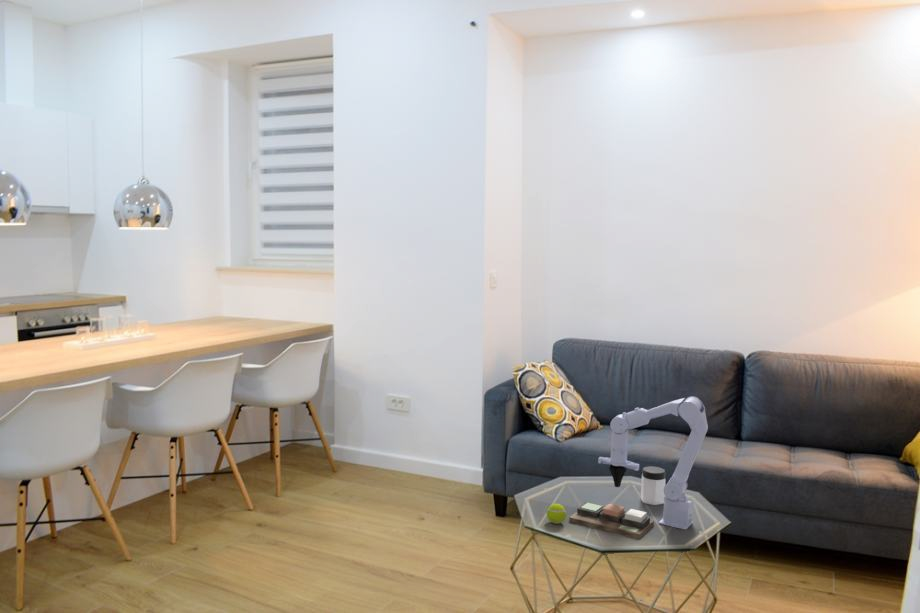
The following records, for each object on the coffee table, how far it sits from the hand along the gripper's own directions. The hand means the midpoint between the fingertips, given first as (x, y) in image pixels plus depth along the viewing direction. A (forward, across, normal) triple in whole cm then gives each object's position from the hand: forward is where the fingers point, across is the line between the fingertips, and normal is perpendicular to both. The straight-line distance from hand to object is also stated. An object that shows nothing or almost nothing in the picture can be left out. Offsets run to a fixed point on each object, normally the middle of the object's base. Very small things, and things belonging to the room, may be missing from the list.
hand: (617, 486), depth 275 cm
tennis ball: (+10, -13, -22) cm, 27 cm away
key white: (+6, +10, -10) cm, 16 cm away
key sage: (+8, -6, -10) cm, 13 cm away
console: (+9, +2, -11) cm, 15 cm away
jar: (+10, +7, +18) cm, 22 cm away
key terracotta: (+6, +3, -9) cm, 12 cm away
